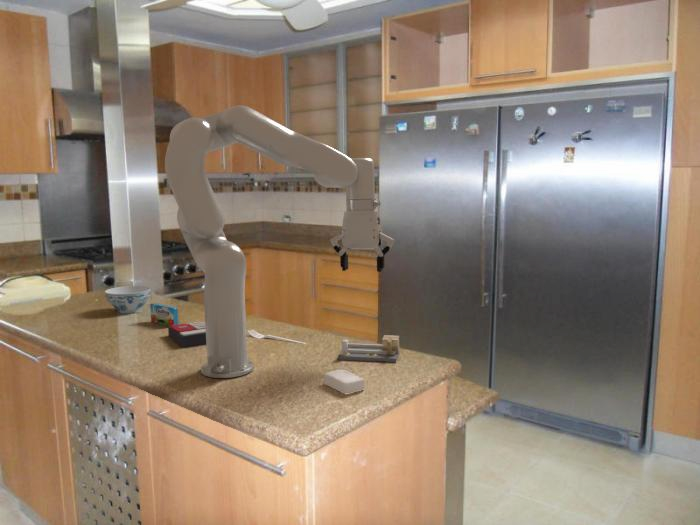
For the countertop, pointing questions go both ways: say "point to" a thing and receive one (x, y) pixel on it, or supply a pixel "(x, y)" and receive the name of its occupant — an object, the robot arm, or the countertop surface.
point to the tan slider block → (390, 344)
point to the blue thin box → (164, 314)
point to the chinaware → (128, 297)
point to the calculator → (188, 334)
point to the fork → (256, 335)
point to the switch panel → (365, 352)
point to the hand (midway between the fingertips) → (362, 270)
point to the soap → (344, 381)
